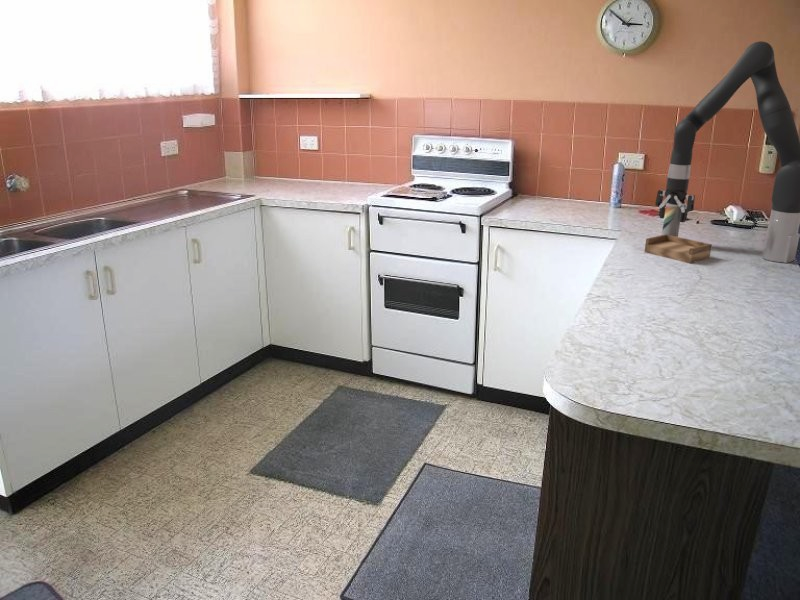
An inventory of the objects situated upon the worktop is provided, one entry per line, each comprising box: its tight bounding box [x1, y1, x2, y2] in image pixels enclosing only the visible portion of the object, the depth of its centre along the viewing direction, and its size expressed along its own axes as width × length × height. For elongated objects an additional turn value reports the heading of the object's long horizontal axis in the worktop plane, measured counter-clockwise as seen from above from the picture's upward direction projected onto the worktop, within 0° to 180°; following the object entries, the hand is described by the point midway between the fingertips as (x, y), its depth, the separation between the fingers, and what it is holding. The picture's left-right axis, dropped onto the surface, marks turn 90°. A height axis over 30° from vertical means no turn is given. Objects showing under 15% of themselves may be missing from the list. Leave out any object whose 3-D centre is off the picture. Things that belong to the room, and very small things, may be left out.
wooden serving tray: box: [644, 234, 713, 264], centre depth 236 cm, size 18×12×5 cm, turn 36°
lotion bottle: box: [661, 192, 682, 237], centre depth 249 cm, size 6×6×20 cm
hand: (671, 220), depth 249 cm, fingers open, 8 cm apart
